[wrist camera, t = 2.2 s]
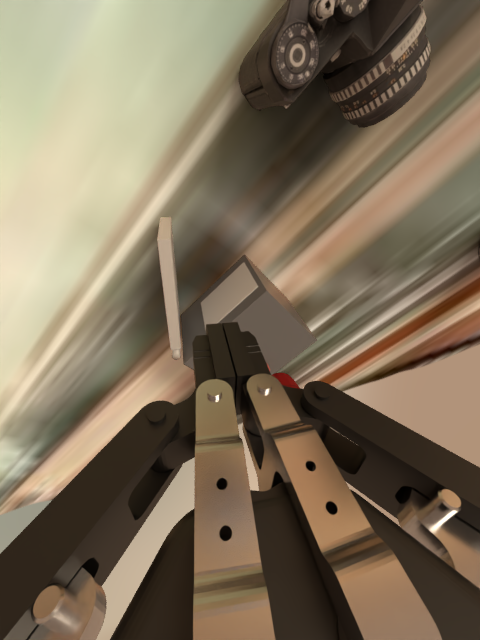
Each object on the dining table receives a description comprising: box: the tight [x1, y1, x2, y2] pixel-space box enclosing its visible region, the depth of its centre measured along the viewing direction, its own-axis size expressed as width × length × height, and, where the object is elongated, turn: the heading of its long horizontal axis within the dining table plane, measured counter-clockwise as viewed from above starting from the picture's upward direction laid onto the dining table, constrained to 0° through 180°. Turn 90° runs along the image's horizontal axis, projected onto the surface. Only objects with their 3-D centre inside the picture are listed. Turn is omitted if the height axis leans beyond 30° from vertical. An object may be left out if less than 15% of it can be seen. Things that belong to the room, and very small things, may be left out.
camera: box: [239, 0, 431, 127], centre depth 19 cm, size 14×11×10 cm
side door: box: [157, 217, 181, 360], centre depth 26 cm, size 1×12×8 cm, turn 177°
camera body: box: [181, 255, 317, 375], centre depth 31 cm, size 9×13×10 cm
